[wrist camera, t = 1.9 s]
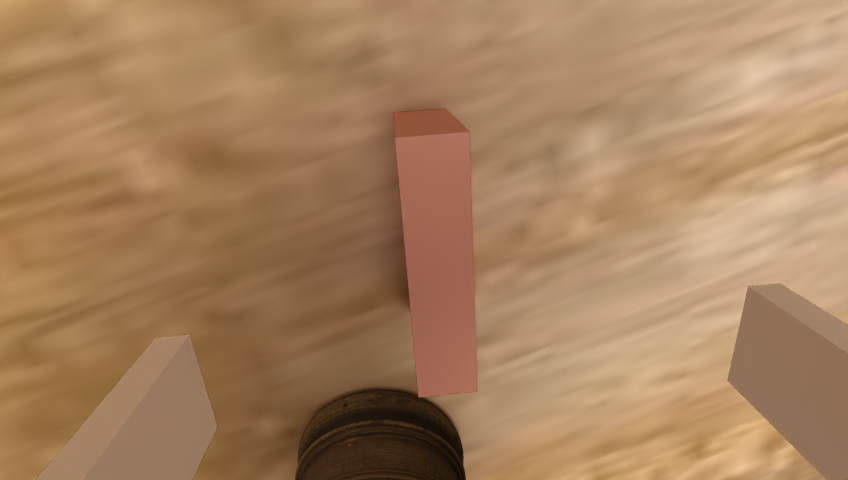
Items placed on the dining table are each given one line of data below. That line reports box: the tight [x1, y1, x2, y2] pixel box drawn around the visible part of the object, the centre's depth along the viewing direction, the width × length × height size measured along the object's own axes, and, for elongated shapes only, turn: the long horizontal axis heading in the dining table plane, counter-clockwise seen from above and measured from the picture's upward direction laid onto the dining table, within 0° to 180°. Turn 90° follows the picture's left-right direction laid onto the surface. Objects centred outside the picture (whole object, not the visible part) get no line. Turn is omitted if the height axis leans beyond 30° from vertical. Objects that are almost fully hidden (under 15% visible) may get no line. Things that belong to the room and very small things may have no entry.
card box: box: [393, 108, 478, 398], centre depth 18 cm, size 2×10×6 cm, turn 4°
